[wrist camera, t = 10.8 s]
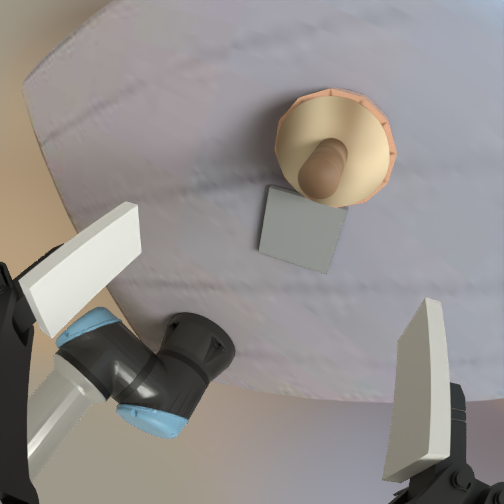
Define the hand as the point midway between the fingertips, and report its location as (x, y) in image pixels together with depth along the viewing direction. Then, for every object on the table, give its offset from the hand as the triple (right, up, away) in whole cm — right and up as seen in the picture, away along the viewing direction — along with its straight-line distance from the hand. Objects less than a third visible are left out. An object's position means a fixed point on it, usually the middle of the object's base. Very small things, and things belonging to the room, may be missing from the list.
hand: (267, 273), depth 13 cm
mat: (+6, +4, +28) cm, 29 cm away
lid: (+7, +11, +16) cm, 21 cm away
